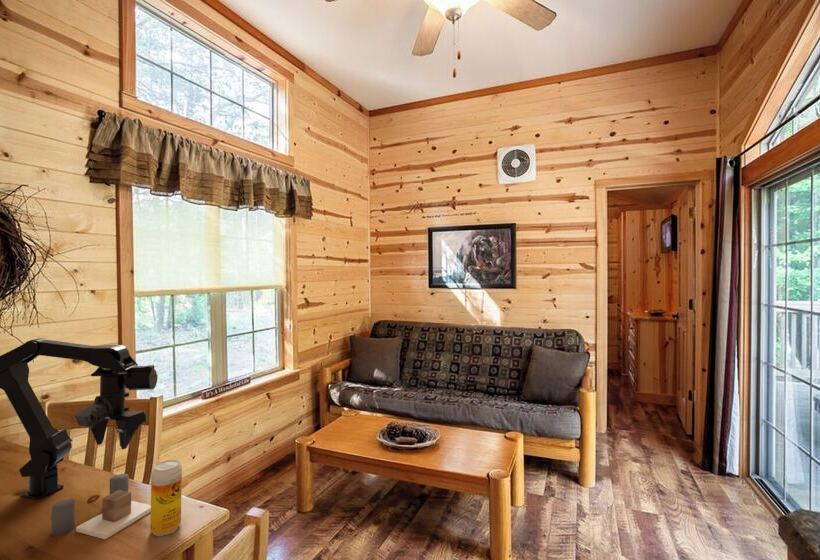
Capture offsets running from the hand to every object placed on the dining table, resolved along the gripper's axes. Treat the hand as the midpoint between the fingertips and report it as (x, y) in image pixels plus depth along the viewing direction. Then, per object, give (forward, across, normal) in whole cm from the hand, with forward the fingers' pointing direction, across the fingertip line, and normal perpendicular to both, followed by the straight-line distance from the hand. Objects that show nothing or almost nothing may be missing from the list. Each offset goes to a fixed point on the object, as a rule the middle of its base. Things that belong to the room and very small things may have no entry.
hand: (111, 446), depth 111 cm
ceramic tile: (+11, +17, -11) cm, 23 cm away
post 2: (+11, +9, -4) cm, 15 cm away
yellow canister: (+11, +31, -10) cm, 34 cm away
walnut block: (+10, +17, -11) cm, 23 cm away
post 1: (+11, +9, -18) cm, 23 cm away
